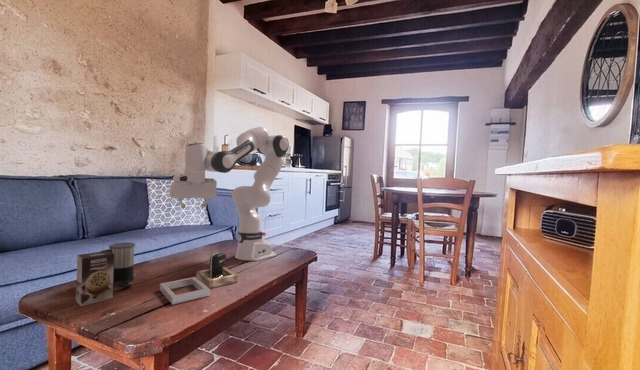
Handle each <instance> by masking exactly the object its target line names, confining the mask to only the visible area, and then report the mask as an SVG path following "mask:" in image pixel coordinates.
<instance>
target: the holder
mask: <svg viewBox="0 0 640 370" xmlns="http://www.w3.org/2000/svg"><path fill="white" fill-rule="evenodd" d="M188 286H193V287H194V288H195V289H196V290H193V291H188V292H184V293H183V292H182V293H179V294H175V292H174V291H172V289H173V290H174V289H178V288H183V287H188ZM159 291H160V292H161V293H162V294H163V296H164V297H165V298H166V299H167V300H168V302H169V303H170V304H171V305H172V306H173V305H177V304H180V303H181V304H182V303H185V302H190V301H194V300H198V299H202V298H206V297H210V295H211V288H208V287H207V286H206V285H204V284H203V283H202V282H201V281H199V280H198V279H197V276H192V277H188V278H181V279H177V280H173V281H165V282H160V283H159Z"/></svg>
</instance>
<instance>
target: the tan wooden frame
mask: <svg viewBox="0 0 640 370" xmlns="http://www.w3.org/2000/svg"><path fill="white" fill-rule="evenodd" d="M223 275H224V277H219V278H214V279H211V278H210V268H208V269H203V270H197V271H196V278H197V279H198V280H199V281H201V282H202V283H203V284H204V285H206V286H207V287H208V288H209V289H213V288H217V287H221V286H226V285H231V284H235V283H238V279H239V278H238V276H239V275H238V274H237V273H235V272H233V271H232V270H230V269H228V268H226V267H225V266H223Z"/></svg>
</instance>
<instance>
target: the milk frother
mask: <svg viewBox="0 0 640 370" xmlns="http://www.w3.org/2000/svg"><path fill="white" fill-rule="evenodd" d="M135 246H136V243H135V242H116V243H115V242H114V243H111V244H109V245H108V247H109V248H107V249H104V250H100V251H99V252H102V251H109V252H112V253H114V270H113V286H116V287H119V288H123V289H126V288H130V287H132V283H131V281H134V280H135V277H134V276H135V275H134V266H135V265H134V264H135V261H134V260H135Z"/></svg>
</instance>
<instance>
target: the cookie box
mask: <svg viewBox="0 0 640 370" xmlns="http://www.w3.org/2000/svg"><path fill="white" fill-rule="evenodd" d="M101 251H102V250H101ZM76 258H77V259H76V260H77V261H76V284H75V285H76V286H75V302H76V303H77V304H78V305H79V306H80V307H85V306H90V305H92V304H96V303H97V304H98V303H101V302H103V301H108V300H111V299H112V300H113V296H114V295H113V294H114V292H113V290H114V285H113V270H114V253H112V252H109V251H102V252H100V251H95V252H90V253H89V252H88V253H83V254H77V257H76Z"/></svg>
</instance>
